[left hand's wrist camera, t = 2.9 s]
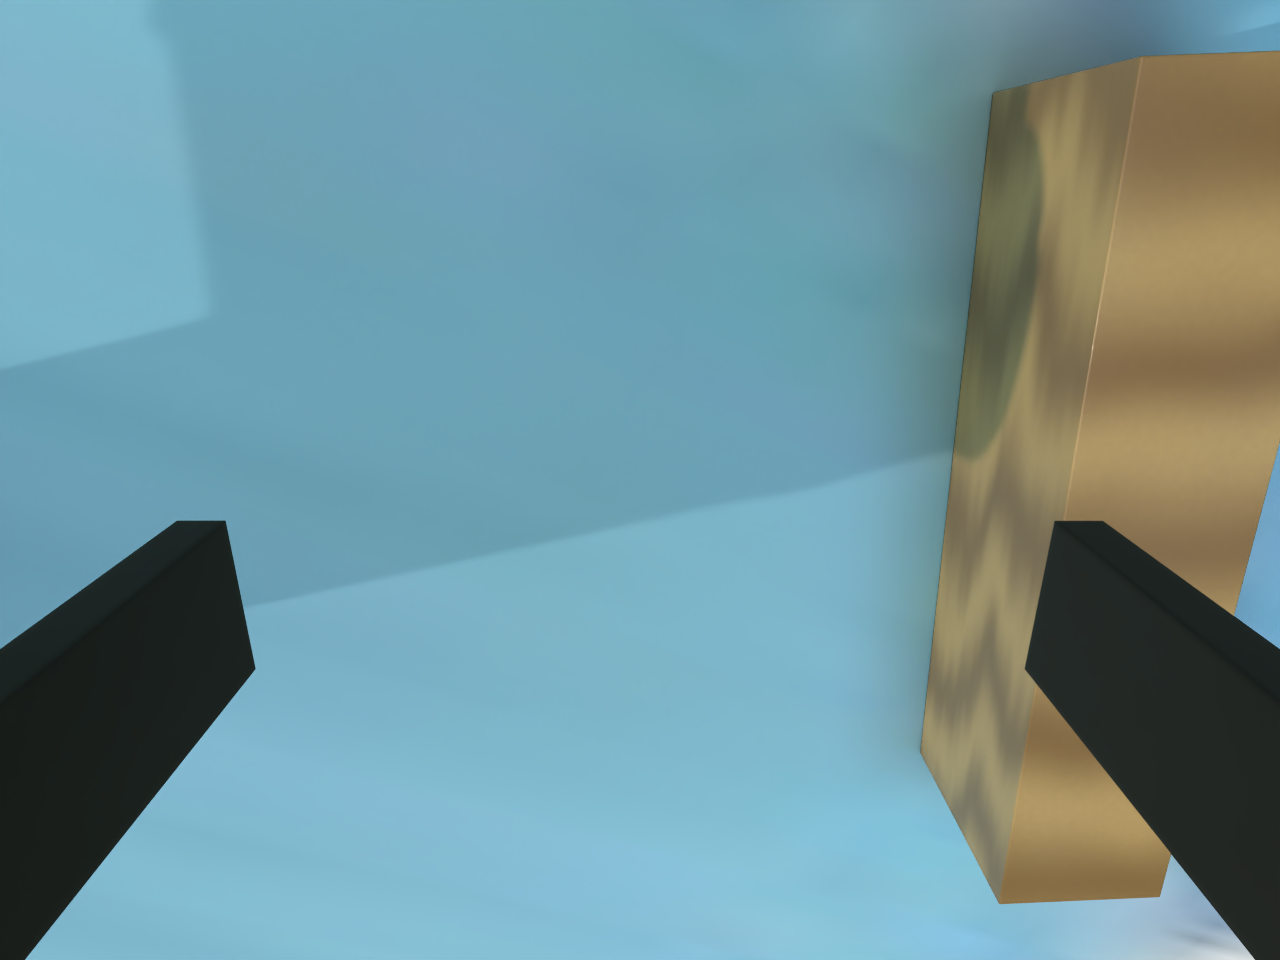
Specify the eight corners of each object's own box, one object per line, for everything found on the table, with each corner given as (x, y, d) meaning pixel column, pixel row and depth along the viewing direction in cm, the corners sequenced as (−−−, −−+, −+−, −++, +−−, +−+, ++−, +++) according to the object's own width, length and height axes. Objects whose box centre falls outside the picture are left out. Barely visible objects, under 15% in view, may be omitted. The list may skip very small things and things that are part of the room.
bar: (1047, 747, 36) (1160, 897, 29) (920, 752, 36) (999, 904, 29) (1166, 85, 27) (1385, 46, 19) (992, 92, 27) (1141, 55, 19)
